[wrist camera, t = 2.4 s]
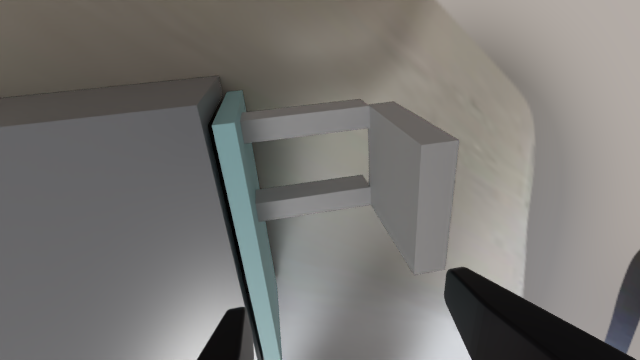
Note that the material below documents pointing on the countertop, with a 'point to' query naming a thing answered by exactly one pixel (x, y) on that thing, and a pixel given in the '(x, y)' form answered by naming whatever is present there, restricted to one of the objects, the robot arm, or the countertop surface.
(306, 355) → the countertop surface
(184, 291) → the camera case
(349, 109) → the case door
